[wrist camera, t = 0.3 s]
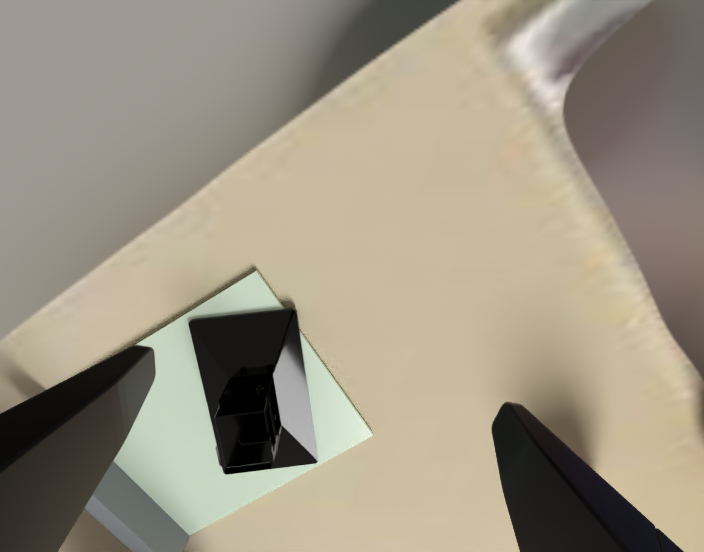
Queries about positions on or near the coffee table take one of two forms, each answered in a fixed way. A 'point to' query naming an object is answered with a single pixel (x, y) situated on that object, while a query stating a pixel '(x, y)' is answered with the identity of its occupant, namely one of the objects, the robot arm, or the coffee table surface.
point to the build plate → (256, 389)
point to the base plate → (203, 438)
